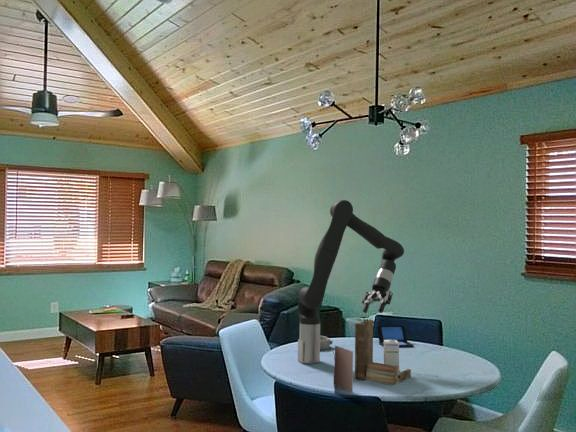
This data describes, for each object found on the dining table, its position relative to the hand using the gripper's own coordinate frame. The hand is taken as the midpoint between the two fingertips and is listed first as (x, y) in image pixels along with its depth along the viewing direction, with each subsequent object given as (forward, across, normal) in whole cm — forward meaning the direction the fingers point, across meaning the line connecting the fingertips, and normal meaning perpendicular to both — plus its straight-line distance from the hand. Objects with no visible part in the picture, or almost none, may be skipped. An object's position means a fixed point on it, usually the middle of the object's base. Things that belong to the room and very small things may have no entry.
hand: (372, 312), depth 235 cm
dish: (+8, -45, +19) cm, 49 cm away
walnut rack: (+26, +10, +8) cm, 29 cm away
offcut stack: (+29, +13, +5) cm, 32 cm away
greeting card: (+41, +10, -11) cm, 44 cm away
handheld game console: (-11, -23, +48) cm, 54 cm away
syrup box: (+24, +12, +11) cm, 29 cm away
